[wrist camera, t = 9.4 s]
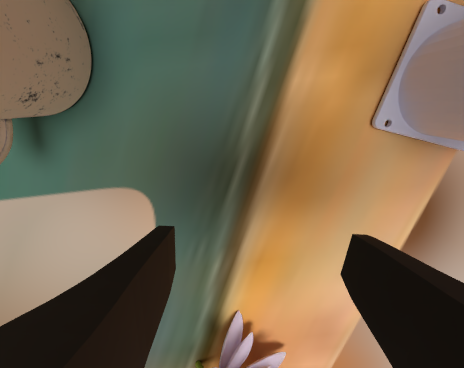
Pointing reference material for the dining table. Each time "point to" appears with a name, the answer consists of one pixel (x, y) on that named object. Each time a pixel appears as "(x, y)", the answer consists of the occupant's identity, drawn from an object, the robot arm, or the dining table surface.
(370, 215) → the dining table surface
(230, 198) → the dining table surface
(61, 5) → the teacup with lid
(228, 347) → the water lily
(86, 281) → the robot arm
